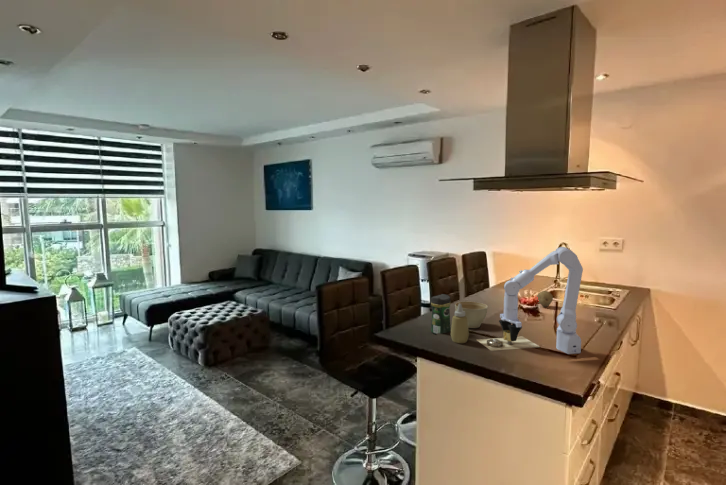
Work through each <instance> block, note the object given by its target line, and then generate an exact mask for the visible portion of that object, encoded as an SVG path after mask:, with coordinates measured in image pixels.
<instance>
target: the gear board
mask: <svg viewBox="0 0 726 485" xmlns="http://www.w3.org/2000/svg"><path fill="white" fill-rule="evenodd" d="M490 339H498V340H500V341H503V347H500V348H498V347H491V346H488V345H487V340H490ZM476 341H477V342H479V343H480V344H481V345H483V346H484V347H486V349H488V350H489V351H491V352H493V351H504V350H506V351H507V350H517V349H532V348H541V346H539V344H537V343H535V342H533V341H531V340H530V339H528V338H526V337H524V336H523V335H522V336H521V335H520V336H517V340H516V341H507V340H504V338H503V337H494V338H482V339H481V338H479V339H476Z"/></svg>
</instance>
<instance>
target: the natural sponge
mask: <svg viewBox="0 0 726 485" xmlns="http://www.w3.org/2000/svg"><path fill="white" fill-rule="evenodd" d="M537 297H538V300H539V302H537V303H538V304H539V305H541V306H542V307H543V308H547V307H549V306H550V305H551V304H552V302H553V301H554V300H553V299H554V297H553V294H552V293H551V292H550V291H547V290H542V291H539V292H538V293H537V295H536V298H537Z"/></svg>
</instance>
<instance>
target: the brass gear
mask: <svg viewBox="0 0 726 485" xmlns="http://www.w3.org/2000/svg"><path fill="white" fill-rule="evenodd" d="M502 334H503V336H502V338H504V340H507V341H511V339H510V330H504V331H503V330H502ZM516 340H517V339H516Z"/></svg>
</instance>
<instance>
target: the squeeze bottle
mask: <svg viewBox="0 0 726 485" xmlns="http://www.w3.org/2000/svg"><path fill="white" fill-rule="evenodd" d="M450 327H451V331H450V338H451V340H452V342H453V343H456V344H465V343H468V339H469V336H470V333H469V328H468V320H467V317H466V316H465V312H464V311H463V309H462V304H459V305H458V309H457V311H456V310H455V311H454V315H453V316H452V319H451V325H450Z"/></svg>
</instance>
